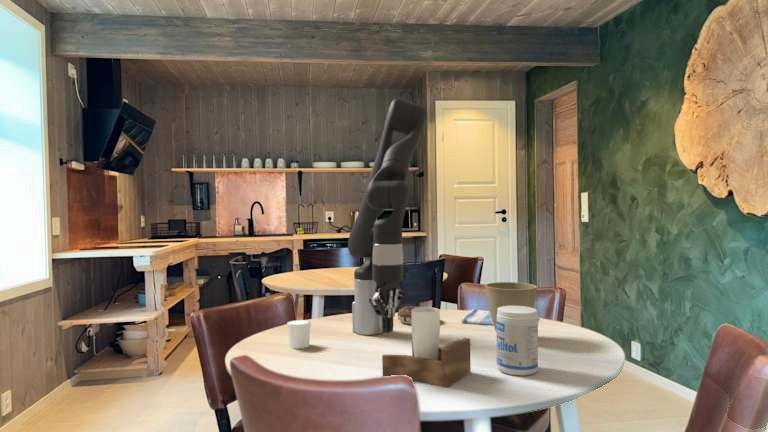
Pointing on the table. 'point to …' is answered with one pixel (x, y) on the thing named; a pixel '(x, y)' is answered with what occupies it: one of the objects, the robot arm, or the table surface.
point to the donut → (406, 314)
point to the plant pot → (509, 296)
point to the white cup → (299, 333)
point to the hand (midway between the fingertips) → (387, 331)
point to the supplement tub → (517, 340)
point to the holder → (432, 364)
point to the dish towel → (478, 318)
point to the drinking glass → (425, 332)
